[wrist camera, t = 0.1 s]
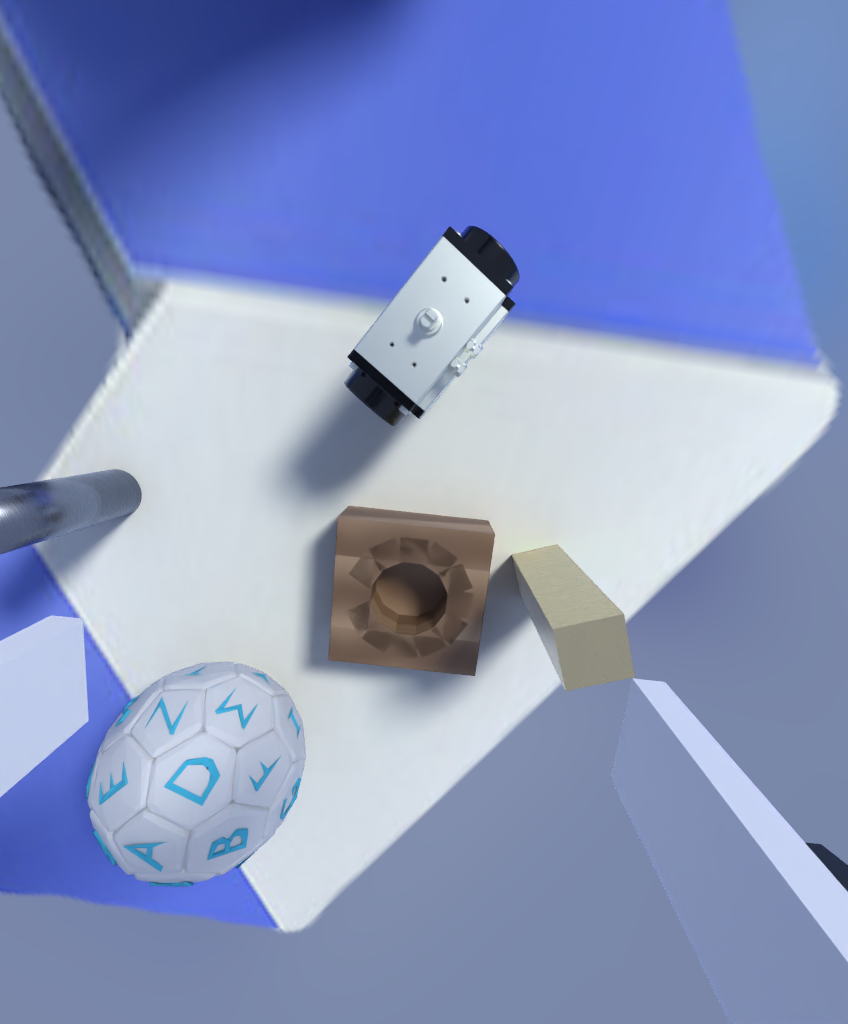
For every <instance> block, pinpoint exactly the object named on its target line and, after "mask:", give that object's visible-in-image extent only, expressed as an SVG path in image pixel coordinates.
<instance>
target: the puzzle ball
mask: <svg viewBox="0 0 848 1024" xmlns="http://www.w3.org/2000/svg"><path fill="white" fill-rule="evenodd" d="M305 758H306V752H305V741H304V730H303V723H302V720H301V717H300V715H299V713H298V711H297V709H296V707H295V705H294V703H293V701H292V699H291V697H290V695H289V693H288V692H286V691H285V689H284V688H283V687H282V686H280V685H279V684H278V683H277V682H276V681H274V680H273V679H272V678H271V677H269V676H268V675H267V674H265V673H263V672H261V671H259V670H257V669H254V668H252V667H249V666H246V665H243V664H239V663H234V662H214V663H200V664H197V665H194V666H191V667H188V668H185V669H182V670H179V671H176V672H174V673H171V674H169V675H166V676H164V677H162V678H161V679H160V680H158V681H157V682H155V683H154V684H152V685H151V686H150V687H148V688H147V689H146V690H145V691H144V692H142V693H141V694H140V695H139V696H138V697H136V698H133V699H132V700H131V701H130V702H129V703H128V704H127V705H126V706H125V707H124V709H123V712H122V713H121V714H120V716H119V717H118V718H117V719H116V721H115V722H114V723H113V725H112V726H111V727H110V728H109V730H108V731H107V733H106V736H105V739H104V740H103V742H102V744H101V746H100V748H99V750H98V753H97V757H96V761H95V762H94V764H95V765H94V764H93V767H92V769H91V772H90V774H89V778H88V782H87V787H86V799H88V804H89V807H90V810H91V811H90V818H91V822H92V825H93V827H94V829H95V831H92V832H93V834H94V836H95V838H96V840H97V841H98V843H99V845H100V847H101V849H102V850H103V852H104V853H105V855H106V856H107V858H108V859H109V861H110V862H111V863H112V864H113V865H114V866H115V865H116V864H117V865H118V866H119V867H120V868H121V869H122V870H123V871H124V872H125V873H126V874H127V875H133V874H134V875H135V878H136V879H138V880H141V881H149V882H151V883H149V886H175V887H176V886H192V885H194V884H193V883H191V882H198V881H204V880H209V879H210V878H212V877H214V876H216V875H222V874H224V873H226V872H228V871H229V870H230V869H232V868H233V867H235V866H236V865H237V866H236V867H235V868H239V867H240V866H241V865H242V864H243V863H244V862H245V861H246V860H247V859H248V858H249V857H250V856H251V855H252V853H253V854H254V853H255V852H256V851H257V849H258V848H260V847H261V846H262V845H263V844H264V843H266V842H267V841H268V840H269V839H270V838H271V837H272V836H273V835H274V833H275V831H276V829H277V828H278V827H279V826H280V825H281V824H282V822H283V821H284V819H285V817H286V815H287V813H288V811H289V809H290V808H291V806H292V805H293V803H294V801H295V800H296V797H297V793H298V789H299V785H300V781H301V777H302V773H303V769H304V763H305ZM248 856H249V857H248ZM243 860H244V861H243ZM240 862H241V863H240ZM239 863H240V864H239ZM238 864H239V865H238Z"/></svg>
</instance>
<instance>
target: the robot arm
mask: <svg viewBox="0 0 848 1024" xmlns="http://www.w3.org/2000/svg"><path fill="white" fill-rule="evenodd" d="M86 722H88V703H87V685H86V667H85V650H84V632H83V619H79V618H70V617H61V616H52V615H51V616H49V617H47V618H45V619H43V620H41V621H39V622H37V623H35V624H33V625H31V626H29V627H27V628H25V629H23V630H21V631H19V632H17V633H15V634H13V635H11V636H9V637H7V638H5V639H4V640H2V641H0V797H1V796H2V795H3V794H4V793H6V792H7V791H8V790H9V789H10V788H11V787H13V786H14V785H15V784H16V783H17V782H18V781H19V780H21V779H22V778H23V777H24V776H25V775H26V774H28V773H29V772H30V771H31V770H32V769H33V768H34V767H36V766H37V765H38V764H39V763H40V762H41V761H43V760H44V759H45V758H46V757H47V756H48V755H49V754H51V753H52V752H53V751H54V750H55V749H56V748H58V747H59V746H60V745H61V744H62V743H63V742H64V741H66V740H67V739H68V738H69V737H70V736H71V735H73V734H74V733H75V732H76V731H77V730H78V729H79V728H81V727H82V726H83V725H84V724H85V723H86ZM611 780H612V782H613V784H614V786H615V788H616V790H617V792H618V794H619V796H620V798H621V800H622V802H623V804H624V807H625V809H626V810H627V812H628V814H629V817H630V819H631V821H632V823H633V825H634V827H635V829H636V831H637V833H638V835H639V837H640V839H641V841H642V843H643V846H644V847H645V849H646V852H647V853H648V856H649V858H650V860H651V862H652V864H653V866H654V868H655V870H656V872H657V874H658V876H659V878H660V880H661V882H662V885H663V886H664V888H665V891H666V893H667V895H668V897H669V899H670V901H671V903H672V905H673V907H674V909H675V911H676V913H677V915H678V917H679V919H680V921H681V923H682V926H683V928H684V930H685V932H686V934H687V936H688V938H689V940H690V942H691V944H692V946H693V948H694V950H695V952H696V954H697V956H698V958H699V960H700V962H701V965H702V967H703V969H704V970H705V972H706V975H707V977H708V979H709V981H710V983H711V985H712V987H713V989H714V991H715V993H716V995H717V997H718V999H719V1001H720V1004H721V1005H722V1008H723V1010H724V1012H725V1014H726V1016H727V1018H728V1020H729V1022H730V1024H848V865H847V864H845V863H844V862H843V861H842V860H840V859H839V858H838V857H837V856H835V855H834V854H833V853H831V852H830V851H829V850H828V849H826V848H825V847H824V846H822V845H821V844H813V843H805V842H804V841H803V840H802V839H801V838H800V837H799V835H798V834H797V833H796V832H795V831H794V830H793V829H792V827H791V826H790V825H789V824H788V823H787V822H786V821H785V820H784V818H783V817H782V816H781V815H780V814H779V813H778V811H777V810H776V809H775V808H774V807H773V806H772V804H771V803H770V802H769V801H768V800H767V799H766V798H765V796H764V795H763V794H762V793H761V792H760V791H759V790H758V788H757V787H756V786H755V785H754V784H753V783H752V782H751V780H750V779H749V778H748V777H747V776H746V775H745V774H744V772H743V771H742V770H741V769H740V768H739V767H738V766H737V764H736V763H735V762H734V761H733V760H732V759H731V758H730V756H729V755H728V754H727V753H726V752H725V751H724V750H723V748H722V747H721V746H720V745H719V744H718V743H717V742H716V740H715V739H714V738H713V737H712V736H711V735H710V733H709V732H708V731H707V730H706V729H705V728H704V726H703V725H702V724H701V723H700V722H699V721H698V720H697V719H696V718H695V716H694V715H693V714H692V713H691V712H690V710H689V709H688V708H687V707H686V706H685V705H684V704H683V703H682V701H681V700H680V699H679V698H678V697H677V696H676V694H675V693H674V692H673V691H672V690H671V689H670V688H669V687H668V685H667V684H666V683H665V682H660V681H650V680H641V679H632V683H631V688H630V692H629V697H628V701H627V706H626V710H625V715H624V719H623V724H622V728H621V733H620V738H619V742H618V747H617V751H616V756H615V760H614V765H613V770H612V774H611Z"/></svg>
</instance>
